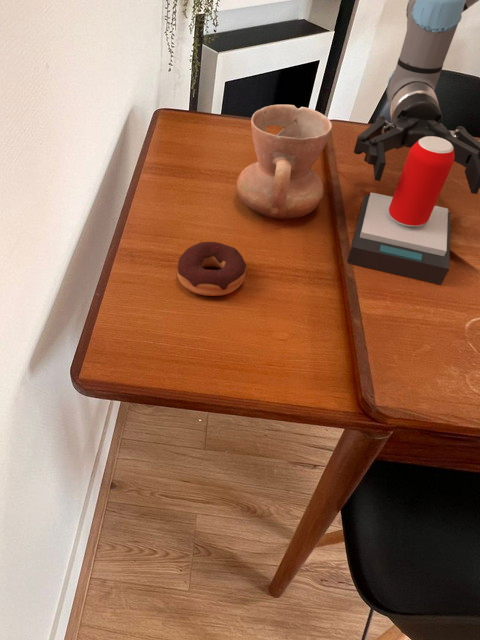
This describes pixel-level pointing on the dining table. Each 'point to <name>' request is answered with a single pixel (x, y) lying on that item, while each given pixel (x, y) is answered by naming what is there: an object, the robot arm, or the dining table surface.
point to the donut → (211, 280)
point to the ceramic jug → (285, 162)
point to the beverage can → (421, 181)
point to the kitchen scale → (401, 242)
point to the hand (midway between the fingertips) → (428, 178)
